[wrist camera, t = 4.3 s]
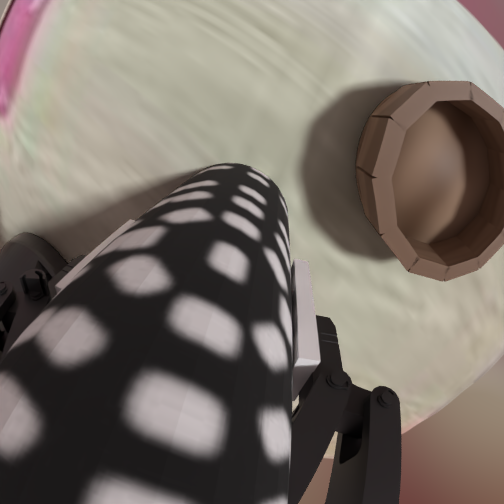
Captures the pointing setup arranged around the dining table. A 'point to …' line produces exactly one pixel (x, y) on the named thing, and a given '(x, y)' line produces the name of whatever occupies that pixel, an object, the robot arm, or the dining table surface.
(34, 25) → the dining table surface
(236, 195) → the white-spotted black cylinder
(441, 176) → the holder
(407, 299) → the dining table surface
